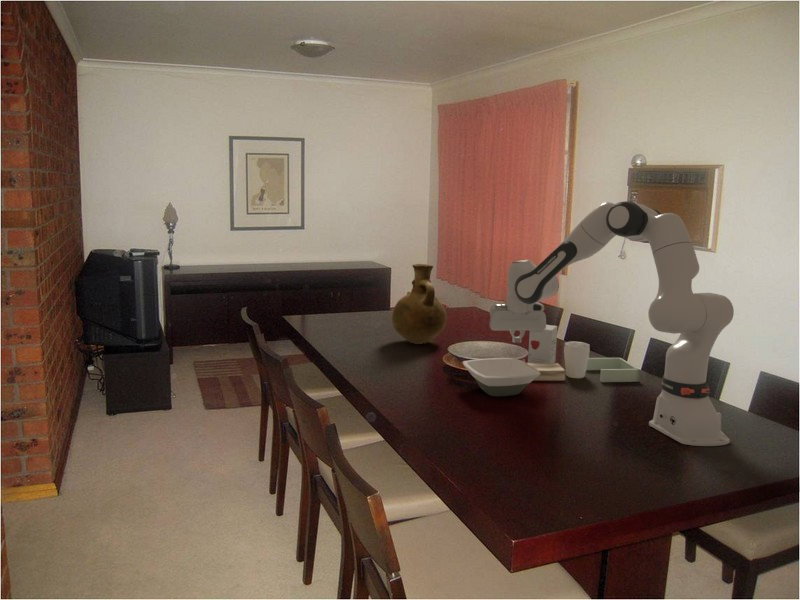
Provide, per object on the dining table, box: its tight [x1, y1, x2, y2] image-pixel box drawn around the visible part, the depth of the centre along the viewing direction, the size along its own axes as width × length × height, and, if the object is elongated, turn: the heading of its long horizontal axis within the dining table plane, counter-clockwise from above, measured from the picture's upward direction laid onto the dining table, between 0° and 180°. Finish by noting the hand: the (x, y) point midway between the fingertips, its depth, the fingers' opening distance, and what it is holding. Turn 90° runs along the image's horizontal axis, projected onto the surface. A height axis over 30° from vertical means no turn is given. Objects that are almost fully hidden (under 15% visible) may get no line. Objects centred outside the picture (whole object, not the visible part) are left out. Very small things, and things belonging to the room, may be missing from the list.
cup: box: [563, 340, 590, 379], centre depth 231 cm, size 9×9×12 cm
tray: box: [586, 357, 641, 383], centre depth 233 cm, size 16×14×4 cm
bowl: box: [462, 357, 541, 397], centre depth 213 cm, size 22×23×8 cm
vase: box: [391, 263, 448, 345], centre depth 275 cm, size 24×24×35 cm
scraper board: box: [526, 362, 566, 381], centre depth 231 cm, size 10×12×4 cm
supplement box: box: [527, 324, 558, 363], centre depth 247 cm, size 9×9×15 cm
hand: (516, 342), depth 228 cm, fingers closed
